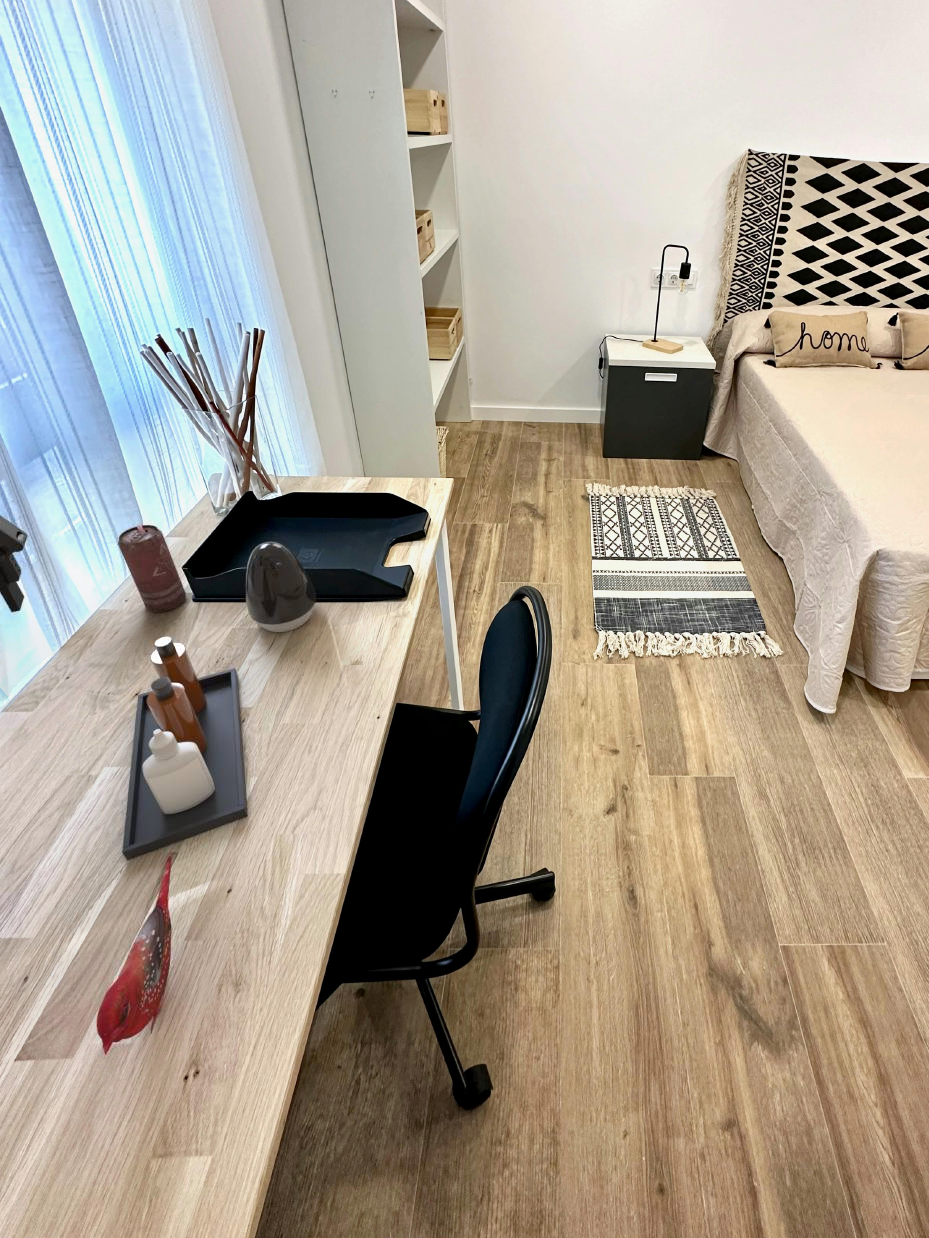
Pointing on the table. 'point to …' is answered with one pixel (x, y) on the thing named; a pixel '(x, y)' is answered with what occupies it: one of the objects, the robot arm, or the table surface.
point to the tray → (221, 757)
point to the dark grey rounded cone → (278, 588)
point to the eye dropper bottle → (176, 773)
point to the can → (152, 568)
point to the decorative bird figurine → (140, 976)
